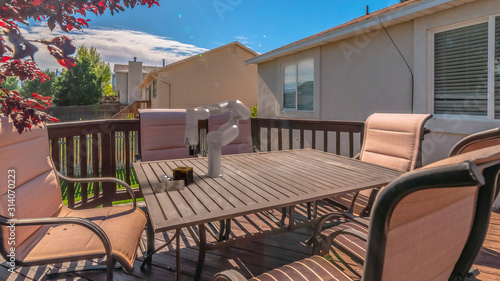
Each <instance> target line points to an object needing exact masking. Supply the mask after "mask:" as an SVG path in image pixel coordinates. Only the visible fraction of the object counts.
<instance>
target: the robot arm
mask: <svg viewBox="0 0 500 281" xmlns="http://www.w3.org/2000/svg"><path fill="white" fill-rule="evenodd" d="M227 113H230V118H229V120H228V121H227V122H225V123H223V124H222V125H221V126H219V128H218V130H212V131H209V132H207V134H206V137H205V140H206V145H207V172H206V173H205V176H206V177H209V178H220V177H223V176H224V172H222V171H224V167H222V148H221V147H224V146H227V145H229V144H230V143H231V142H233V141H234V140H235V139H237V138H238V137H239V134H240V128H239V125H240V124H239V123H240V122H239V120H244V121H246V120H248V119H250V118H251V115H252V112H251V110H250V108H249V107H247V106H246V105H245V104H244V103H243V102H242V101H240V100H238V99H227V100H222V101H220V102H214V103H210V104H207V105H201V106H197V107H194V108H193V107H191V108H189V107H188V108H186V110H185V131H184V138H183V139H184V140H183V142H184V143H183V144H184V145H185V147H186V148H188V154H189V156H192V157H193V156H195V154H196V153H195V152H196V151H195V150H196V147H197V146H198V144H199V140H200V139H199V125H198V124H199V120H202V121H203V120H208V119H209V118H210V116H214V117H215V116H220V115H223V114H227Z"/></svg>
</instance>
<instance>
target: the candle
mask: <svg viewBox="0 0 500 281" xmlns="http://www.w3.org/2000/svg"><path fill="white" fill-rule="evenodd" d="M173 176H174V177H175V178H174V179H172V181H181V180H184V187H188V186H190V185H191V184H193V183H194V179H195V178H194V167H193V166H177V167H176V168H172V177H173Z"/></svg>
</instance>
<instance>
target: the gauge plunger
mask: <svg viewBox="0 0 500 281" xmlns="http://www.w3.org/2000/svg"><path fill="white" fill-rule="evenodd" d="M158 177H159V178H160V179H162V178H163V180H161V183H162V182H165V181H166V182H167V181H172V180H173V179H174V178H175V177H174V176H173V175H172V176H171V177H170V176H169V177H168V175H167V174H161V175H159V176H158ZM164 178H165V179H164Z"/></svg>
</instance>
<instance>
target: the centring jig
mask: <svg viewBox="0 0 500 281" xmlns="http://www.w3.org/2000/svg"><path fill="white" fill-rule="evenodd" d="M161 179H162V180H163V178H161ZM164 179H166V178H164ZM162 180H161V182H158V183H157V184H156V192H157V193H160V194H162V193H165V192H166V191H178V190H179V191H180V190H185V186H184V180H181V181H173V180H168V181H165V182H162Z"/></svg>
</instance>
